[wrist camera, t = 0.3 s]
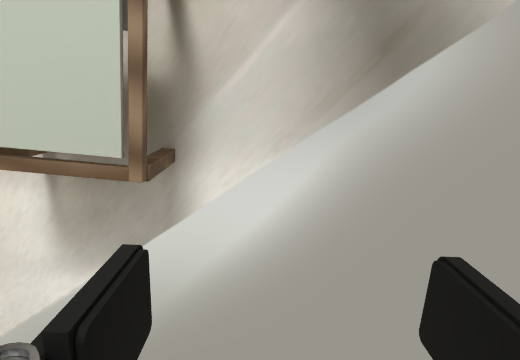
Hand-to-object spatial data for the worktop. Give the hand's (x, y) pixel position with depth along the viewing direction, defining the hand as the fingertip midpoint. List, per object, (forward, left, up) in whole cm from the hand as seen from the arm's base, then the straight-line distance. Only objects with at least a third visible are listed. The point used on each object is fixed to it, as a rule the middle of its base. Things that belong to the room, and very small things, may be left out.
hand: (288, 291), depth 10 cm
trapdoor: (-7, -20, -25) cm, 32 cm away
